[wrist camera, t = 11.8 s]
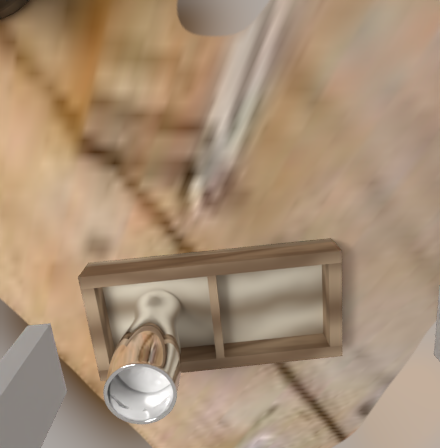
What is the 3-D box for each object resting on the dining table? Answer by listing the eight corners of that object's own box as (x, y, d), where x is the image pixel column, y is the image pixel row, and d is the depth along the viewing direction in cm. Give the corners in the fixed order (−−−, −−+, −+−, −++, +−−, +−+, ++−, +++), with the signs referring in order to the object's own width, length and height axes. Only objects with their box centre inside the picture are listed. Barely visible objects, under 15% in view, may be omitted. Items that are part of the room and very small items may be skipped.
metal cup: (171, 277, 49) (158, 350, 35) (195, 323, 51) (191, 410, 37) (120, 299, 50) (86, 379, 36) (145, 343, 52) (123, 436, 38)
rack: (88, 263, 50) (78, 277, 46) (330, 238, 50) (341, 250, 46) (108, 360, 54) (100, 381, 50) (332, 336, 54) (342, 355, 50)
